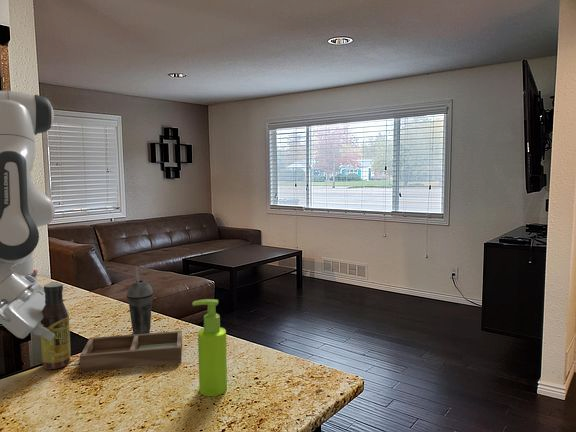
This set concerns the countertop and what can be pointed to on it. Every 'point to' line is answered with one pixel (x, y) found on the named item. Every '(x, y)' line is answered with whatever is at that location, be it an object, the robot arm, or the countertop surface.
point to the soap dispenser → (212, 352)
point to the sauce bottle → (55, 329)
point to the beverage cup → (140, 305)
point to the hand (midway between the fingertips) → (58, 331)
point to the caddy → (131, 351)
